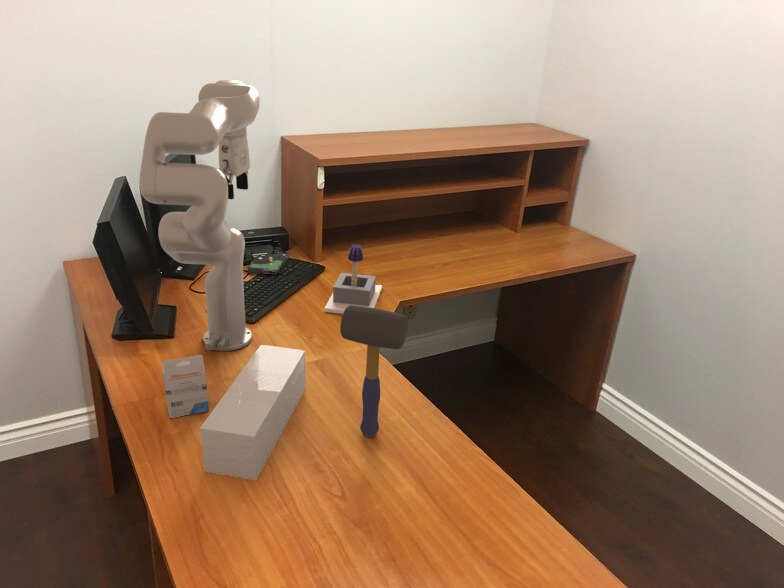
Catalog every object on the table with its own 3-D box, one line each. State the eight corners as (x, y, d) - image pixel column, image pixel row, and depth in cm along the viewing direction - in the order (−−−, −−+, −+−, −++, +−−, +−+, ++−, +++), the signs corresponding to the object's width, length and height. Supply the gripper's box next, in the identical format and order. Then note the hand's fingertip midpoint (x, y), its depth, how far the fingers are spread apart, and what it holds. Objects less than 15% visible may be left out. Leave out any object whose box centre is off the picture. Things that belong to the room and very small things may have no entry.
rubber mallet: (401, 430, 136) (410, 307, 123) (391, 451, 129) (400, 324, 116) (348, 417, 139) (351, 296, 126) (335, 437, 132) (338, 312, 119)
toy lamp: (363, 294, 193) (365, 244, 186) (359, 300, 189) (360, 249, 182) (349, 292, 194) (350, 242, 187) (344, 298, 190) (345, 247, 183)
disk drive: (260, 258, 220) (247, 274, 206) (260, 250, 218) (247, 266, 205) (289, 260, 219) (278, 277, 205) (289, 253, 218) (278, 269, 204)
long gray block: (262, 382, 150) (261, 344, 145) (305, 389, 148) (305, 350, 144) (204, 472, 121) (199, 428, 116) (256, 481, 120) (254, 436, 115)
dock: (371, 317, 182) (371, 298, 180) (324, 311, 184) (324, 292, 181) (381, 288, 200) (382, 271, 198) (339, 284, 202) (339, 266, 199)
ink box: (206, 399, 142) (200, 343, 136) (209, 411, 138) (204, 355, 132) (166, 406, 139) (159, 350, 133) (169, 419, 135) (161, 361, 128)
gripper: (231, 137, 155) (235, 204, 162) (257, 125, 170) (260, 186, 178) (203, 135, 156) (208, 201, 163) (231, 123, 171) (235, 184, 179)
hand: (235, 193), depth 170 cm, fingers open, 9 cm apart
